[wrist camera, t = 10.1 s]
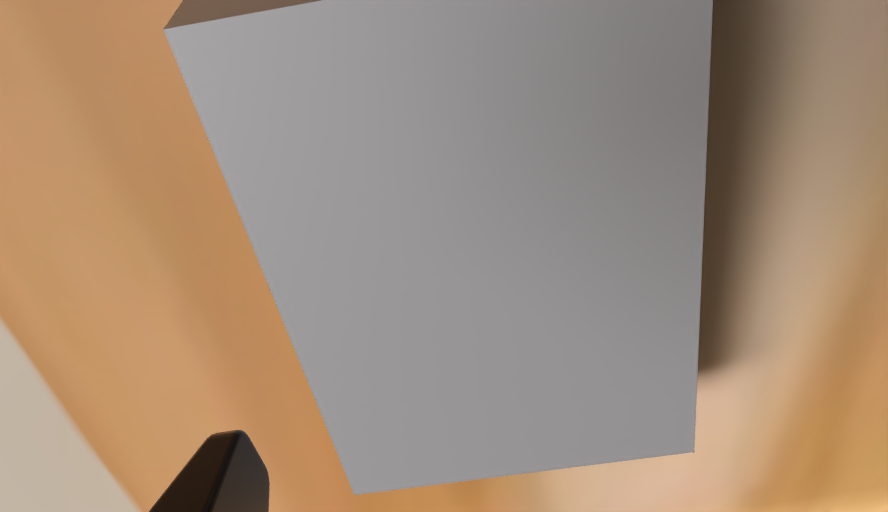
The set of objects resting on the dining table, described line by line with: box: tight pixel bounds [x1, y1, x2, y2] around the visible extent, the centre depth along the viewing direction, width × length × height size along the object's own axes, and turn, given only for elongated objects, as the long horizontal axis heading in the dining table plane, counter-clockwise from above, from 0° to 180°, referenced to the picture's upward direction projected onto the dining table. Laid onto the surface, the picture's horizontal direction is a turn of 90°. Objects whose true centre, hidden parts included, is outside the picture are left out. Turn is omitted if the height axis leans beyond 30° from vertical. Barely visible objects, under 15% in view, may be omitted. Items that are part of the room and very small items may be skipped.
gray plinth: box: [164, 0, 713, 495], centre depth 21 cm, size 11×16×3 cm
